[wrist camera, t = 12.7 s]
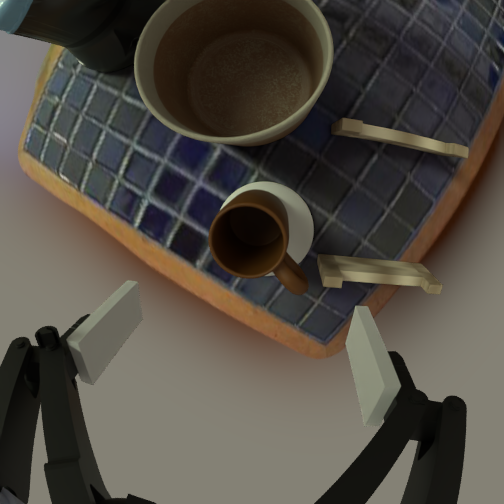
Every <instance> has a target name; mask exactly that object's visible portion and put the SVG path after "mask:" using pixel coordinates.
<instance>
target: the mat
mask: <svg viewBox="0 0 504 504" xmlns="http://www.w3.org/2000/svg"><path fill="white" fill-rule="evenodd" d="M252 189H260V190H265V191H268V192H270V193H272V194H274V195H275V196H276V197H278V198H279V199H280V200H281V202H282V203H283V205H284V206H285V208H286V211H287V214H288V222H289V244H288V248H287V253H288V254H289V255H290V256H291V257H292V259H293V260H294V261H295V262H296V263H297V264H299V263H300V262H301V261H302V260H303V259H304V257H305V256H306V254H307V253H308V251H309V249H310V247H311V244H312V240H313V234H314V226H313V220H312V216H311V213H310V210H309V208H308V207H307V205H306V203H305V202H304V200H303V199H302V198H301V197H300V196H299V195H298V194H297V193H296V192H294V191H293V190H292V189H290V188H288V187H286V186H284V185H282V184H279V183H275V182H268V181H261V182H254V183H250V184H247V185H245V186H243V187H241V188H239V189H238V190H236V191H235V192H234V193H232V194H231V195H230V196H229V197H228V198H227V200H226V201H225V202H224V204H223V206H222V207H221V209H222V208H223V207H224V206H225V205H226V204H227V203H229V202H230V201H231V200H232V199H233V198H234V197H236V196H237V195H239V194H240V193H242V192H244V191H247V190H252ZM221 209H220V210H221ZM273 275H275V274H274V273H273V272H271V273H269V274H267V275H265V276H273Z"/></svg>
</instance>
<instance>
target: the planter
mask: <svg viewBox="0 0 504 504" xmlns="http://www.w3.org/2000/svg"><path fill="white" fill-rule="evenodd" d="M333 55H334V48H333V39H332V35H331V31H330V28H329V26H328V23H327V21H326V19H325V17H324V16H323V14H322V12H321V11H320V10H319V8H318V7H317V6H316V5H315V3H314V2H313V1H312V0H166V1H165V2H164V3H163V4H162V5H161V6H160V7H159V8H158V9H157V10H156V11H155V13H154V14H153V15H152V16H151V18H150V19H149V21H148V22H147V24H146V26H145V27H144V29H143V31H142V33H141V36H140V38H139V41H138V44H137V48H136V52H135V60H134V73H135V79H136V84H137V87H138V90H139V93H140V95H141V97H142V99H143V101H144V103H145V104H146V106H147V107H148V109H149V110H150V111H151V113H152V114H153V115H154V116H155V117H156V118H157V119H158V120H159V121H161V122H162V123H163V124H164V125H166V126H167V127H169V128H170V129H172V130H174V131H176V132H177V133H180V134H182V135H184V136H187V137H190V138H193V139H196V140H201V141H206V142H213V143H221V144H229V145H237V146H259V145H265V144H268V143H272V142H274V141H277V140H279V139H281V138H283V137H285V136H287V135H288V134H290V133H291V132H293V131H294V130H295V129H296V128H297V127H298V126H299V125H300V124H301V123H302V122H303V121H304V120H305V118H306V117H307V116H308V114H309V112H310V111H311V109H312V107H313V106H314V104H315V102H316V101H317V99H318V98H319V96H320V94H321V93H322V91H323V89H324V87H325V85H326V83H327V81H328V78H329V76H330V72H331V69H332V64H333Z"/></svg>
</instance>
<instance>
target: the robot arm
mask: <svg viewBox="0 0 504 504" xmlns="http://www.w3.org/2000/svg"><path fill="white" fill-rule="evenodd" d="M165 1H166V0H0V30H3V31H6V32H7V33H8V34H15V35H20V36H24V37H28V38H33V39H37V40H41V41H45V42H48V43H52V44H56V45H60V46H63V47H66V48H67V49H68V50H69V51H70V52H71V53H72V54H73V55H74V56H75V57H76V59H77V60H78V61H79V62H80V63H81V64H82V65H83V66H85V67H87V68H89V69H92V70H96V71H99V72H113V71H117V70H120V69H123V68H125V67H127V66H129V65H131V64H133V63H134V60H135V52H136V48H137V44H138V41H139V38H140V36H141V33H142V31H143V29H144V27H145V26H146V24H147V22H148V21H149V19H150V18H151V16H152V15H153V14H154V13H155V11H156V10H157V9H158V8H159V7H160V6H161V5H162V4H163V3H164V2H165ZM142 319H143V317H142V310H141V303H140V295H139V286H138V282H136V281H129V280H127V281H126V282H125V283H124V284H123V285H122V286H121V287H120V288H119V289H118V290H116V291H115V292H114V293H113V294H112V295H111V296H110V297H109V298H108V299H107V300H106V301H105V302H104V303H103V304H102V305H100V306H99V307H98V308H97V309H96V310H95V311H94V312H93V313H92V314H91V315H90V314H87V315H85V316H83V317H81V318H80V319H79V320H78V321H77V322H76V323H75V324H74V325H73V326H72V327H71V328H69V330H67V331H66V333H64V335H62V336H61V337H59V334H58V331H57V328H55V327H53V326H45V327H42V328H40V329H39V330H38V331H37V332H36V333H35V337H36V340H37V343H38V345H39V346H32V345H31V343H30V341H29V339H28V338H26V337H19V338H16V339H15V340H13V341H12V343H11V344H10V346H9V348H8V350H7V353H6V355H5V357H4V360H3V362H2V364H1V366H0V504H27V503H28V498H29V490H30V474H31V463H32V452H33V445H34V438H35V431H36V424H37V419H38V414H39V408H40V403H41V411H42V421H43V430H44V437H45V445H46V451H47V456H48V463H45V464H44V471H45V476H46V481H47V485H48V489H49V493H50V498H51V501H52V504H156V503H154V502H151V501H148V500H145V499H142V498H139V497H136V496H134V495H131V494H128V496H127V498H111V496H110V495H109V493H108V491H107V490H106V488H105V485H104V483H103V481H102V478H101V475H100V472H99V469H98V466H97V463H96V460H95V457H94V454H93V450H92V447H91V444H90V440H89V437H88V433H87V429H86V425H85V421H84V417H83V412H82V408H81V403H80V398H79V393H78V388H77V382H76V380H75V376H76V375H77V374H79V376H80V378H81V381H83V382H85V383H88V384H91V385H94V383H95V382H96V380H97V379H98V378H99V376H100V375H101V374H102V372H103V371H104V370H105V368H106V367H107V365H108V364H109V363H110V361H111V360H112V359H113V357H114V356H115V355H116V353H117V352H118V351H119V349H120V348H121V347H122V345H123V344H124V343H125V341H126V340H127V339H128V338H129V336H130V335H131V334H132V332H133V331H134V330H135V328H136V327H137V326H138V325H139V323H140V322H141V321H142ZM345 344H346V348H347V352H348V356H349V360H350V364H351V368H352V372H353V376H354V381H355V385H356V389H357V394H358V399H359V404H360V408H361V413H362V418H363V423H364V426H366V427H367V426H379V425H380V423H381V422H382V420H383V418H384V421H385V422H384V423H383V425H382V426H381V428H380V429H379V430H378V432H377V433H376V434H375V436H374V437H373V438H372V440H371V441H370V442H369V444H368V445H367V446H366V447H365V449H364V450H363V451H362V452H361V454H360V455H359V456H358V457H357V458H356V460H355V461H354V462H353V463H352V464H351V465H350V467H349V468H348V469H347V470H346V471H345V472H344V473H343V474H342V476H341V477H340V478H339V479H338V480H337V481H336V482H335V483H334V484H333V485H332V486H331V488H329V490H327V492H325V494H324V495H322V496H321V498H319V499H318V500H317V501H316V502H315V503H314V504H365V503H366V502H367V501H368V499H369V498H370V497H371V496H372V494H373V493H374V491H375V490H376V489H377V488H378V486H379V485H380V484H381V482H382V481H383V479H384V478H385V477H386V475H387V474H388V472H389V471H390V469H391V468H392V466H393V465H394V463H395V462H396V460H397V459H398V457H399V456H400V454H401V453H402V451H403V449H404V448H405V446H406V444H407V443H408V441H409V440H416V441H418V445H417V449H416V453H415V457H414V461H413V465H412V468H411V472H410V476H409V479H408V482H407V485H406V489H405V492H404V495H403V498H402V501H401V503H400V504H457V500H458V495H459V489H460V484H461V477H462V470H463V461H464V451H465V437H466V413H467V411H466V409H467V408H466V404H465V402H464V401H463V400H462V399H461V398H459V397H457V396H448V397H446V398H445V399H444V401H443V402H442V403H441V402H436V401H430V400H428V397H427V396H426V395H425V393H423V392H422V391H420V390H417V389H416V387H415V385H414V383H413V380H412V378H411V376H410V373H409V371H408V369H407V367H406V366H405V362H404V360H403V358H402V357H401V356H400V355H399V354H398V353H397V352H396V351H390V352H389V351H387V349H386V347H385V345H384V342H383V340H382V337H381V335H380V333H379V331H378V328H377V326H376V324H375V321H374V319H373V317H372V315H371V313H370V310H369V308H368V306H355V310H354V314H353V318H352V322H351V325H350V329H349V332H348V336H347V340H346V343H345Z"/></svg>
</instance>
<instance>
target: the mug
mask: <svg viewBox="0 0 504 504" xmlns="http://www.w3.org/2000/svg"><path fill="white" fill-rule="evenodd" d="M288 244H289V222H288V214H287V211H286V208H285V206H284V205H283V203H282V202H281V200H280V199H279V198H278V197H276V196H275V195H274V194H272V193H270V192H268V191H265V190H260V189H252V190H247V191H244V192H242V193H240V194H239V195H237V196H236V197H234V198H233V199H232V200H231V201H230V202H229V203H227V204H226V205H225V206H224V207H223V208H222V209H221V210H220V211H219V213H218V214H217V216H216V217H215V219H214V220H213V222H212V224H211V227H210V230H209V247H210V251H211V253H212V256H213V257H214V259H215V261H216V262H217V263H218V265H219V266H220V267H221V268H223V269H224V270H225V271H227V272H228V273H230V274H232V275H234V276H237V277H241V278H259V277H262V276H265V275H267V274H269V273H271V272H273V273H274V274H275V276H276V277H277V278H278V279H279V281H280V282H281V283H282V284H283V285H284V287H285V288H287V289H288V290H289V291H290V292H292V293H293V294H296V295H302V294H304V293H305V292H306V291H307V290H308V287H309V284H308V280H307V278H306V276H305V274H304V272H303V271H302V269H301V268H300V267H299V265H298V264H297V263H296V262H295V261H294V260H293V259H292V257H291V256H290V255H289V254H288V253H287V248H288Z"/></svg>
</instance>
